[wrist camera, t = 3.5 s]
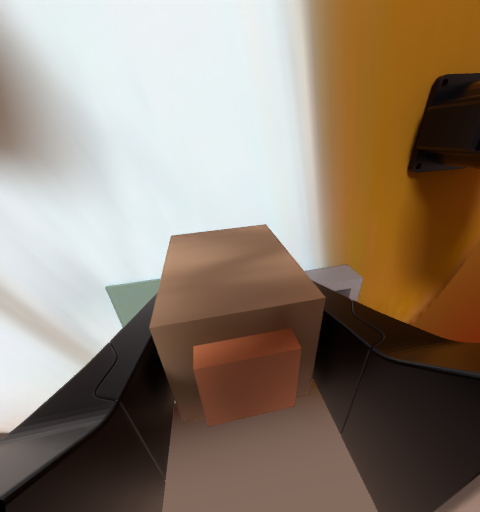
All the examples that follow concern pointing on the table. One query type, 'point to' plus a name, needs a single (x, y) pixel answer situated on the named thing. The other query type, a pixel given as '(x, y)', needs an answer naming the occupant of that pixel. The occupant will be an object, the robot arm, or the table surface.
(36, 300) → the table surface
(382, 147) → the table surface
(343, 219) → the table surface
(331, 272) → the button box
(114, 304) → the board
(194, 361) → the block
